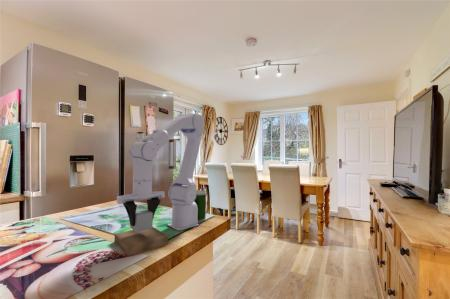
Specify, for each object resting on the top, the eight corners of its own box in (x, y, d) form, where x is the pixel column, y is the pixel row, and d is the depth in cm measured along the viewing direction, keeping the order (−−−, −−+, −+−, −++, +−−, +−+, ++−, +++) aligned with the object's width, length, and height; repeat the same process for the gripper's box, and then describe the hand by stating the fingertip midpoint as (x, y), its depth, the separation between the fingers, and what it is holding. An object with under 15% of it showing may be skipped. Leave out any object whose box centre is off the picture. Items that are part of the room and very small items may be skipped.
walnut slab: (150, 234, 78) (151, 225, 78) (167, 245, 69) (168, 236, 69) (114, 243, 70) (114, 234, 70) (128, 257, 61) (128, 247, 61)
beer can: (196, 222, 90) (196, 193, 90) (190, 218, 95) (191, 190, 95) (207, 220, 93) (208, 191, 93) (201, 216, 98) (202, 189, 98)
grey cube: (145, 224, 73) (145, 208, 73) (152, 228, 70) (152, 212, 70) (130, 227, 70) (130, 211, 70) (136, 232, 66) (136, 215, 66)
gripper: (158, 177, 78) (157, 215, 78) (113, 180, 68) (112, 224, 68) (168, 179, 72) (167, 221, 72) (122, 183, 62) (120, 231, 62)
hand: (141, 223), depth 70 cm, fingers closed on grey cube, 5 cm apart
